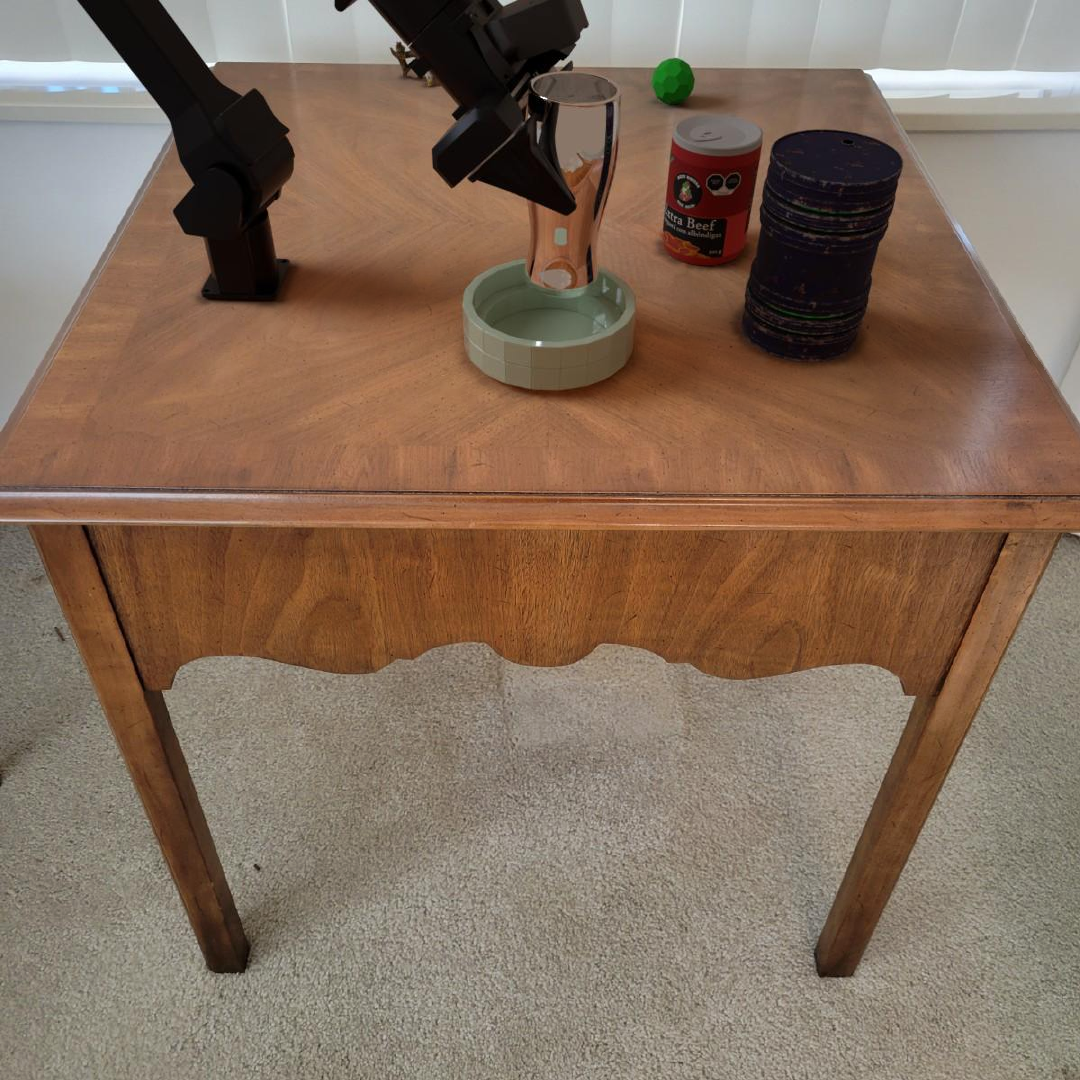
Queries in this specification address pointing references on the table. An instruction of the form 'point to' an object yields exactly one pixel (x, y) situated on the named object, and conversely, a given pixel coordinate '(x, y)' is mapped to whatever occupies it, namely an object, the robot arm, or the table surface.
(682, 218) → the canned food
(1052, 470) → the table surface
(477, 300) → the bowl
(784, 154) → the dark blue cylinder
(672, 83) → the polyhedron
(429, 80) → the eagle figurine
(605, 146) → the beer glass
